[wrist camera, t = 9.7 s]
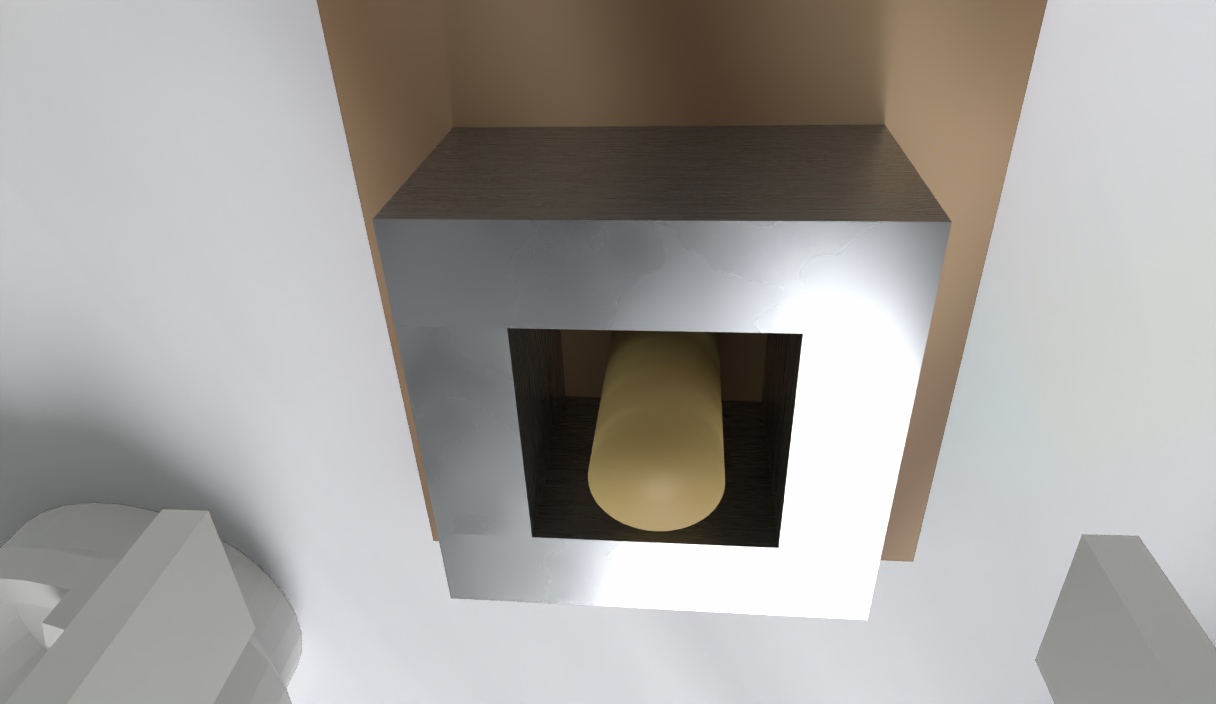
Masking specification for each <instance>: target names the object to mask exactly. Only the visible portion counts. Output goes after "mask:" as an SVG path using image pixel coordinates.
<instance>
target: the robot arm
mask: <svg viewBox="0 0 1216 704" xmlns="http://www.w3.org/2000/svg"><path fill="white" fill-rule="evenodd" d="M254 630H255V626H254V624H253V621H252V619H251V616H250V614H249V611H248V609H247V606H246V604H245V601H244V598H243V596H242V593H241V591H240V588H239V586H238V583H237V581H236V578H235V576H234V573H233V571H232V568H231V566H230V563H229V561H228V558H227V556H226V553H225V551H224V548H223V546H222V543H221V541H220V538H219V536H218V533H217V531H216V528H215V526H214V523H213V521H212V518H211V516H210V513H209V511H208V510H174V509H162V510H161V511H160V513H159V514H158V515H157V516H156V518H155V519H154V520H153V521H152V522H151V524H150V525H149V526H148V527H147V529H146V530H145V531H144V532H143V534H142V535H141V536H140V537H139V539H138V540H137V541H136V542H135V544H134V545H133V546H132V547H131V548H130V550H129V551H128V552H127V553H126V555H125V556H124V557H123V558H122V560H121V561H120V562H119V563H118V565H117V566H116V567H115V568H114V570H113V571H112V572H111V573H110V574H109V576H108V577H107V578H106V579H105V581H104V582H103V583H102V584H101V586H100V587H99V588H98V589H97V591H96V592H95V593H94V594H93V596H92V597H91V598H90V599H89V601H88V602H87V603H86V604H85V605H84V607H83V608H82V609H81V610H80V612H79V613H78V614H77V615H76V617H75V618H74V619H73V620H72V622H71V623H70V624H69V625H68V627H67V628H66V629H65V630H64V631H63V633H62V634H61V635H60V636H59V638H58V639H57V640H56V641H55V643H54V644H53V645H52V646H51V648H50V649H49V650H48V651H47V653H46V654H45V655H44V656H43V657H42V659H41V660H40V661H39V662H38V664H37V665H36V666H35V667H34V669H33V670H32V671H31V672H30V674H29V675H28V676H27V677H26V679H25V680H24V681H23V682H22V683H21V685H20V686H19V687H18V688H17V690H16V691H15V692H14V693H13V695H12V696H11V697H10V698H9V700H8V701H7V702H6V703H5V704H213V703H214V702H215V700H216V698H217V696H218V694H219V693H220V691H221V689H222V687H223V685H224V684H225V682H226V680H227V678H228V676H229V675H230V673H231V671H232V669H233V668H234V666H235V664H236V662H237V660H238V659H239V657H240V655H241V653H242V651H243V650H244V648H245V646H246V644H247V642H248V641H249V639H250V637H251V635H252V633H253V632H254ZM1035 661H1036V663H1037V665H1038V667H1039V669H1040V672H1041V674H1042V676H1043V678H1044V681H1045V683H1046V685H1047V687H1048V689H1049V692H1050V694H1051V696H1052V698H1053V701H1054V703H1055V704H1216V648H1215V646H1214V645H1213V643H1212V642H1211V641H1210V639H1209V638H1208V636H1207V635H1206V633H1205V632H1204V630H1203V629H1202V627H1201V626H1200V625H1199V623H1198V622H1197V620H1196V619H1195V617H1194V616H1193V614H1192V613H1191V611H1190V610H1189V609H1188V607H1187V606H1186V604H1185V603H1184V601H1183V600H1182V598H1181V597H1180V595H1179V594H1178V593H1177V591H1176V590H1175V588H1174V587H1173V585H1172V584H1171V582H1170V581H1169V579H1168V578H1167V577H1166V575H1165V574H1164V572H1163V571H1162V569H1161V568H1160V566H1159V565H1158V563H1157V562H1156V561H1155V559H1154V558H1153V556H1152V555H1151V553H1150V552H1149V550H1148V549H1147V547H1146V546H1145V545H1144V543H1143V542H1142V540H1141V539H1140V537H1139V536H1122V535H1085V534H1082V537H1081V539H1080V542H1079V545H1078V547H1077V550H1076V552H1075V555H1074V558H1073V560H1072V563H1071V566H1070V568H1069V571H1068V574H1067V576H1066V579H1065V582H1064V584H1063V587H1062V590H1061V592H1060V595H1059V598H1058V600H1057V603H1056V606H1055V608H1054V611H1053V614H1052V616H1051V619H1050V622H1049V624H1048V627H1047V630H1046V632H1045V635H1044V638H1043V640H1042V643H1041V646H1040V648H1039V651H1038V654H1037V656H1036V659H1035Z"/></svg>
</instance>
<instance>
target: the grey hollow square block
mask: <svg viewBox="0 0 1216 704" xmlns="http://www.w3.org/2000/svg"><path fill="white" fill-rule="evenodd" d="M373 224H374V229H375V233H376V238H377V243H378V248H379V253H380V258H381V262H382V267H383V272H384V277H385V282H386V287H387V291H388V296H389V301H390V306H391V311H392V316H393V320H394V325H395V330H396V335H397V340H398V345H399V349H400V354H401V359H402V364H403V369H404V374H405V378H406V383H407V388H408V393H409V398H410V403H411V407H412V412H413V417H414V422H415V427H416V432H417V436H418V441H419V446H420V451H421V456H422V461H423V465H424V470H425V475H426V480H427V485H428V490H429V494H430V499H431V504H432V509H433V514H434V519H435V523H436V528H437V533H438V538H439V543H440V548H441V552H442V557H443V562H444V567H445V572H446V577H447V581H448V586H449V591H450V596H451V598H458V599H476V600H495V601H514V602H533V603H552V604H571V605H590V606H609V607H628V608H647V609H666V610H685V611H704V612H723V613H741V614H760V615H779V616H798V617H817V618H836V619H855V620H868V615H869V610H870V606H871V601H872V596H873V592H874V587H875V582H876V577H877V573H878V568H879V563H880V558H881V554H882V549H883V544H884V540H885V535H886V530H887V525H888V521H889V516H890V511H891V507H892V502H893V497H894V492H895V488H896V483H897V478H898V474H899V469H900V464H901V459H902V455H903V450H904V445H905V441H906V436H907V431H908V426H909V422H910V417H911V412H912V408H913V403H914V398H915V393H916V389H917V384H918V379H919V374H920V370H921V365H922V360H923V356H924V351H925V346H926V341H927V337H928V332H929V327H930V323H931V318H932V313H933V308H934V304H935V299H936V294H937V290H938V285H939V280H940V275H941V271H942V266H943V261H944V257H945V252H946V247H947V242H948V238H949V233H950V228H951V224H952V221H951V220H950V218H949V217H948V216H947V214H946V213H945V211H944V210H943V208H942V207H941V205H940V204H939V202H938V201H937V200H936V198H935V197H934V195H933V194H932V192H931V191H930V189H929V188H928V186H927V185H926V184H925V182H924V181H923V179H922V178H921V176H920V175H919V173H918V172H917V170H916V169H915V167H914V166H913V165H912V163H911V162H910V160H909V159H908V157H907V156H906V154H905V153H904V151H903V150H902V149H901V147H900V146H899V144H898V143H897V141H896V140H895V138H894V137H893V135H892V134H891V133H890V131H889V130H888V128H887V127H886V125H885V124H883V125H736V126H589V127H453V128H452V129H451V130H450V131H449V132H448V133H447V135H446V136H445V137H444V138H443V139H442V140H441V141H440V143H439V144H438V145H437V146H436V147H435V148H434V149H433V151H432V152H431V153H430V154H429V155H428V156H427V157H426V159H425V160H424V161H423V162H422V163H421V164H420V165H419V167H418V168H417V169H416V170H415V171H414V172H413V173H412V175H411V176H410V177H409V178H408V179H407V180H406V181H405V183H404V184H403V185H402V186H401V187H400V188H399V189H398V191H397V192H396V193H395V194H394V195H393V196H392V197H391V199H390V200H389V201H388V202H387V203H386V204H385V205H384V207H383V208H382V209H381V210H380V211H379V212H378V213H377V215H376V216H375V217H374V218H373ZM561 329H578V330H632V331H686V332H740V333H767V341H766V353H765V365H764V376H763V388H762V400H761V401H727V400H721V402H722V424H723V446H724V468H725V489H724V493H723V496H722V498H721V500H720V502H719V504H718V505H717V507H716V508H715V509H714V510H713V511H712V512H711V513H710V514H709V515H708V516H707V517H705V518H704V519H703V520H701V521H699V522H698V523H696V524H693V525H691V526H688V527H685V528H682V529H677V530H672V531H648V530H642V529H638V528H634V527H631V526H628V525H626V524H623V523H621V522H619V521H618V520H616V519H614V518H613V517H611V516H610V515H608V514H607V513H606V512H605V511H604V510H603V509H602V508H601V507H600V506H599V505H598V503H597V502H596V501H595V499H594V497H593V495H592V493H591V491H590V488H589V483H588V470H589V464H590V458H591V453H592V447H593V441H594V435H595V430H596V424H597V418H598V412H599V407H600V401H601V397H579V396H566V393H565V380H564V367H563V354H562V341H561Z"/></svg>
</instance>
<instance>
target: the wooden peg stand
mask: <svg viewBox="0 0 1216 704" xmlns="http://www.w3.org/2000/svg"><path fill="white" fill-rule="evenodd" d="M317 4H318V9H319V13H320V18H321V23H322V27H323V32H324V37H325V41H326V46H327V50H328V55H329V60H330V64H331V69H332V74H333V78H334V83H335V87H336V92H337V97H338V101H339V106H340V111H341V115H342V120H343V124H344V129H345V134H346V138H347V143H348V148H349V152H350V157H351V161H352V166H353V171H354V175H355V180H356V185H357V189H358V194H359V198H360V203H361V208H362V212H363V217H364V221H365V226H366V231H367V235H368V240H369V245H370V249H371V254H372V258H373V263H374V268H375V272H376V277H377V282H378V286H379V291H380V295H381V300H382V305H383V309H384V314H385V319H386V323H387V328H388V332H389V337H390V342H391V346H392V351H393V356H394V360H395V365H396V369H397V374H398V379H399V383H400V388H401V393H402V397H403V402H404V406H405V411H406V416H407V420H408V425H409V430H410V434H411V439H412V443H413V448H414V453H415V457H416V462H417V467H418V471H419V476H420V480H421V485H422V490H423V494H424V499H425V503H426V508H427V513H428V517H429V522H430V527H431V531H432V536H433V540H434V541H439V538H438V533H437V528H436V523H435V519H434V514H433V509H432V504H431V499H430V494H429V490H428V485H427V480H426V475H425V470H424V465H423V461H422V456H421V451H420V446H419V441H418V436H417V432H416V427H415V422H414V417H413V412H412V407H411V403H410V398H409V393H408V388H407V383H406V378H405V374H404V369H403V364H402V359H401V354H400V349H399V345H398V340H397V335H396V330H395V325H394V320H393V316H392V311H391V306H390V301H389V296H388V291H387V287H386V282H385V277H384V272H383V267H382V262H381V258H380V253H379V248H378V243H377V238H376V233H375V229H374V224H373V218H374V217H375V216H376V215H377V213H378V212H379V211H380V210H381V209H382V208H383V207H384V205H385V204H386V203H387V202H388V201H389V200H390V199H391V197H392V196H393V195H394V194H395V193H396V192H397V191H398V189H399V188H400V187H401V186H402V185H403V184H404V183H405V181H406V180H407V179H408V178H409V177H410V176H411V175H412V173H413V172H414V171H415V170H416V169H417V168H418V167H419V165H420V164H421V163H422V162H423V161H424V160H425V159H426V157H427V156H428V155H429V154H430V153H431V152H432V151H433V149H434V148H435V147H436V146H437V145H438V144H439V143H440V141H441V140H442V139H443V138H444V137H445V136H446V135H447V133H448V132H449V131H450V130H451V129H452V128H453V127H589V126H736V125H883V124H885V125H886V127H887V128H888V130H889V131H890V133H891V134H892V135H893V137H894V138H895V140H896V141H897V143H898V144H899V146H900V147H901V149H902V150H903V151H904V153H905V154H906V156H907V157H908V159H909V160H910V162H911V163H912V165H913V166H914V167H915V169H916V170H917V172H918V173H919V175H920V176H921V178H922V179H923V181H924V182H925V184H926V185H927V186H928V188H929V189H930V191H931V192H932V194H933V195H934V197H935V198H936V200H937V201H938V202H939V204H940V205H941V207H942V208H943V210H944V211H945V213H946V214H947V216H948V217H949V218H950V220H951V221H952V224H951V228H950V233H949V238H948V242H947V247H946V252H945V257H944V261H943V266H942V271H941V275H940V280H939V285H938V290H937V294H936V299H935V304H934V308H933V313H932V318H931V323H930V327H929V332H928V337H927V341H926V346H925V351H924V356H923V360H922V365H921V370H920V374H919V379H918V384H917V389H916V393H915V398H914V403H913V408H912V412H911V417H910V422H909V426H908V431H907V436H906V441H905V445H904V450H903V455H902V459H901V464H900V469H899V474H898V478H897V483H896V488H895V492H894V497H893V502H892V507H891V511H890V516H889V521H888V525H887V530H886V535H885V540H884V544H883V549H882V554H881V558H880V560H887V561H910V562H913V560H914V556H915V552H916V548H917V543H918V539H919V535H920V531H921V527H922V522H923V518H924V514H925V510H926V506H927V502H928V497H929V493H930V489H931V485H932V481H933V476H934V472H935V468H936V464H937V460H938V456H939V451H940V447H941V443H942V439H943V435H944V430H945V426H946V422H947V418H948V414H949V410H950V405H951V401H952V397H953V393H954V389H955V385H956V380H957V376H958V372H959V368H960V364H961V359H962V355H963V351H964V347H965V343H966V339H967V334H968V330H969V326H970V322H971V318H972V313H973V309H974V305H975V301H976V297H977V293H978V288H979V284H980V280H981V276H982V272H983V267H984V263H985V259H986V255H987V251H988V247H989V242H990V238H991V234H992V230H993V226H994V222H995V217H996V213H997V209H998V205H999V201H1000V196H1001V192H1002V188H1003V184H1004V180H1005V176H1006V171H1007V167H1008V163H1009V159H1010V155H1011V150H1012V146H1013V142H1014V138H1015V134H1016V130H1017V125H1018V121H1019V117H1020V113H1021V109H1022V104H1023V100H1024V96H1025V92H1026V88H1027V84H1028V79H1029V75H1030V71H1031V67H1032V63H1033V59H1034V54H1035V50H1036V46H1037V42H1038V38H1039V33H1040V29H1041V25H1042V21H1043V17H1044V13H1045V8H1046V4H1047V0H317ZM561 341H562V354H563V367H564V380H565V393H566V396H579V397H601V401H600V407H599V412H598V418H597V424H596V430H595V435H594V441H593V447H592V453H591V458H590V464H589V470H588V483H589V488H590V491H591V493H592V495H593V497H594V499H595V501H596V502H597V503H598V505H599V506H600V507H601V508H602V509H603V510H604V511H605V512H606V513H607V514H608V515H610V516H611V517H613V518H614V519H616V520H618V521H619V522H621V523H623V524H626V525H628V526H631V527H634V528H638V529H642V530H648V531H672V530H677V529H682V528H685V527H688V526H691V525H693V524H696V523H698V522H699V521H701V520H703V519H704V518H705V517H707V516H708V515H709V514H710V513H711V512H712V511H713V510H714V509H715V508H716V507H717V505H718V504H719V502H720V500H721V498H722V496H723V493H724V489H725V468H724V446H723V424H722V402H721V400H727V401H761V400H762V388H763V376H764V365H765V353H766V341H767V333H740V332H686V331H632V330H578V329H561Z"/></svg>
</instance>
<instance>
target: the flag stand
mask: <svg viewBox="0 0 1216 704" xmlns="http://www.w3.org/2000/svg"><path fill="white" fill-rule="evenodd" d="M158 514H159V513H158V512H155V511H151V510H146V509H141V508H136V507H132V506H127V505H120V504H106V503H83V504H73V505H65V506H61V507H58V508H55V509H52V510H48V511H45V512H42V513H41V514H39V515H37V516H36V517H34V518H33V519H31V520H29V521H28V522H26V523H25V524H24V525H23V526H22V527H21V528H20V529H19V530H18V531H17V532H16V533H15V534H14V535H13V536H12V537H11V538H10V539H9V540H8V541H7V542H6V543H5V544H4V545H3V546H2V547H1V548H0V704H5V703H6V702H7V701H8V700H9V698H10V697H11V696H12V695H13V693H14V692H15V691H16V690H17V688H18V687H19V686H20V685H21V683H22V682H23V681H24V680H25V679H26V677H27V676H28V675H29V674H30V672H31V671H32V670H33V669H34V667H35V666H36V665H37V664H38V662H39V661H40V660H41V659H42V657H43V656H44V655H45V654H46V653H47V651H48V650H49V649H50V648H51V646H52V645H53V644H54V643H55V641H56V640H57V639H58V638H59V636H60V635H61V634H62V633H63V631H64V630H65V629H66V628H67V627H68V625H69V624H70V623H71V622H72V620H73V619H74V618H75V617H76V615H77V614H78V613H79V612H80V610H81V609H82V608H83V607H84V605H85V604H86V603H87V602H88V601H89V599H90V598H91V597H92V596H93V594H94V593H95V592H96V591H97V589H98V588H99V587H100V586H101V584H102V583H103V582H104V581H105V579H106V578H107V577H108V576H109V574H110V573H111V572H112V571H113V570H114V568H115V567H116V566H117V565H118V563H119V562H120V561H121V560H122V558H123V557H124V556H125V555H126V553H127V552H128V551H129V550H130V548H131V547H132V546H133V545H134V544H135V542H136V541H137V540H138V539H139V537H140V536H141V535H142V534H143V532H144V531H145V530H146V529H147V527H148V526H149V525H150V524H151V522H152V521H153V520H154V519H155V518H156V516H157V515H158ZM220 541H221V543H222V546H223V548H224V551H225V553H226V556H227V558H228V561H229V563H230V566H231V568H232V571H233V573H234V576H235V578H236V581H237V583H238V586H239V588H240V591H241V593H242V596H243V598H244V601H245V604H246V606H247V609H248V611H249V614H250V616H251V619H252V621H253V624H254V626H255V630H254V632H253V633H252V635H251V637H250V639H249V641H248V642H247V644H246V646H245V648H244V650H243V651H242V653H241V655H240V657H239V659H238V660H237V662H236V664H235V666H234V668H233V669H232V671H231V673H230V675H229V676H228V678H227V680H226V682H225V684H224V685H223V687H222V689H221V691H220V693H219V694H218V696H217V698H216V700H215V702H214V703H213V704H292V703H291V700H290V697H289V695H288V692H287V689H286V688H287V686H288V684H289V682H290V680H291V678H292V676H293V674H294V672H295V670H296V668H297V666H298V662H299V659H300V656H301V653H302V632H301V629H300V626H299V623H298V620H297V616H296V613H295V612H294V610H293V608H292V607H291V605H290V603H289V602H288V600H287V598H286V597H285V595H284V593H283V592H282V591H281V590H280V589H279V588H278V586H277V585H276V584H275V583H274V582H273V581H272V580H271V578H270V577H269V576H268V575H267V574H266V573H265V572H264V571H263V570H262V569H260V568H259V567H258V566H257V565H256V564H255V563H253V562H252V561H251V560H250V559H249V558H247V557H246V556H245V555H244V554H243V553H241V552H239V551H238V550H236V549H235V548H233V547H232V546H230V545H229V544H227V543H225V542H224V541H222V540H221V539H220Z"/></svg>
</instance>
